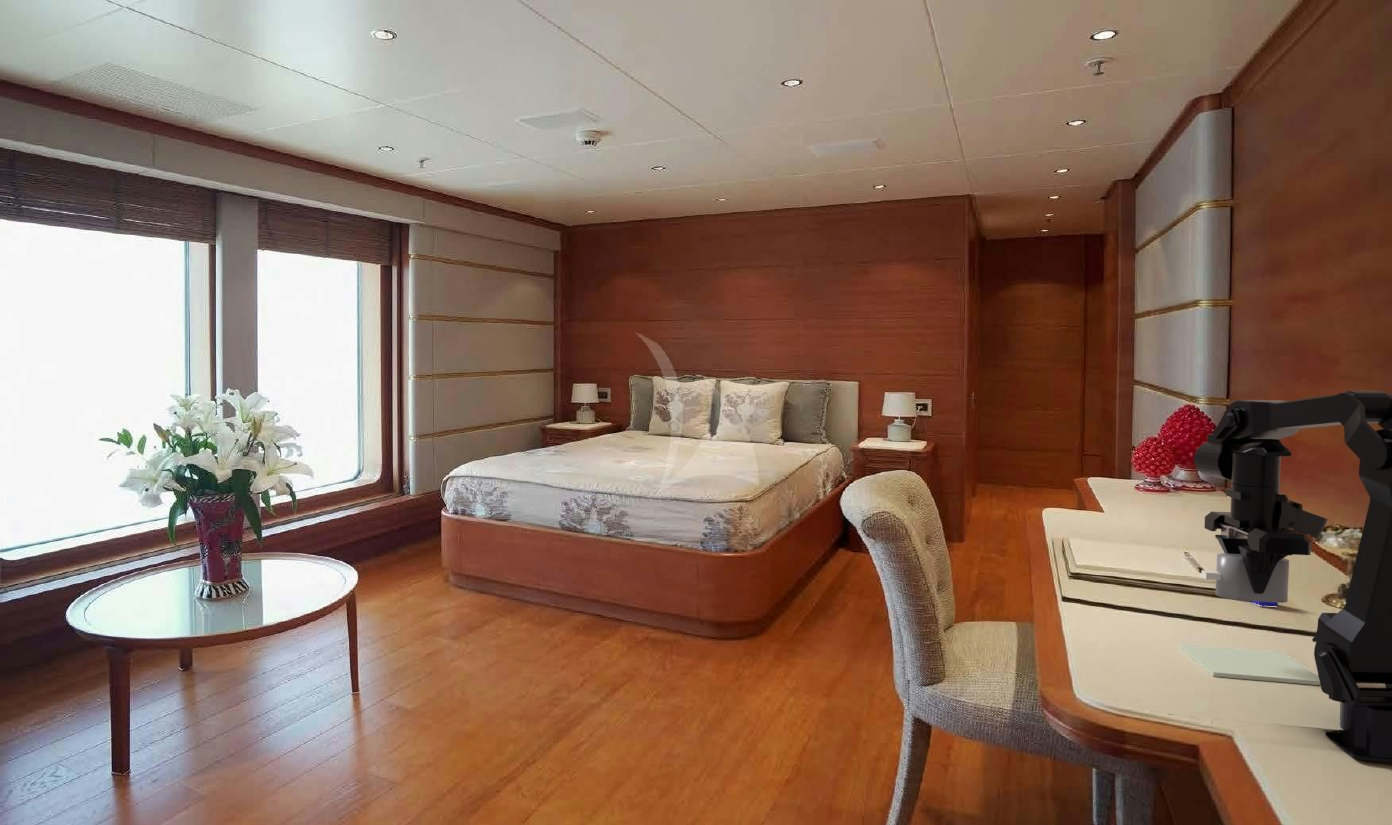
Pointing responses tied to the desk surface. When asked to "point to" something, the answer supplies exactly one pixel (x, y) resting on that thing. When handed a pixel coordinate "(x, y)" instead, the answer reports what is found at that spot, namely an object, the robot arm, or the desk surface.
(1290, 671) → the sage pad
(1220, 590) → the rounded connector
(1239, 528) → the robot arm
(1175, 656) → the desk surface
